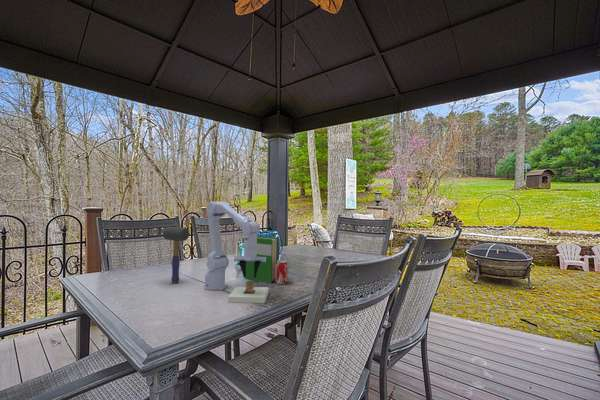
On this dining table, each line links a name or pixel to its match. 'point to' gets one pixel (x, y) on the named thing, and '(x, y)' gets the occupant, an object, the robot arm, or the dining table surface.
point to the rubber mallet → (175, 247)
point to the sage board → (248, 295)
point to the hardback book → (266, 269)
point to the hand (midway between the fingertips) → (249, 277)
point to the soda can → (281, 272)
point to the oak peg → (249, 287)
